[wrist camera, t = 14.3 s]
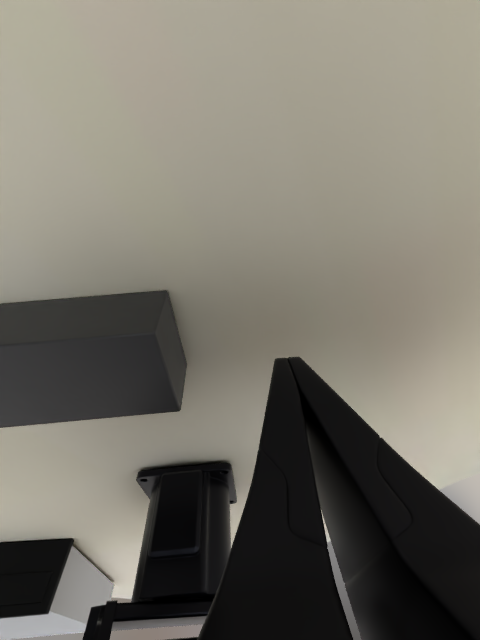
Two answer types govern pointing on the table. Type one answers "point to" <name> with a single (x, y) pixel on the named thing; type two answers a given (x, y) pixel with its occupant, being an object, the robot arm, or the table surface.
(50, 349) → the slat
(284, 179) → the table surface
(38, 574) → the disc drive
